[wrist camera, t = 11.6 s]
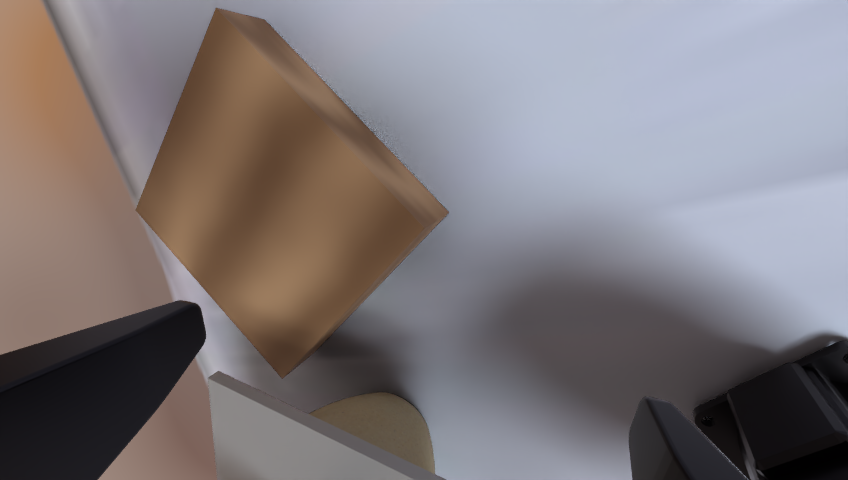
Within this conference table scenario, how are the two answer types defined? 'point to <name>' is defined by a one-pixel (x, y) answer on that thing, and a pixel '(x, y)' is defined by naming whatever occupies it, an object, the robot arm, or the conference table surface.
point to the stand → (279, 193)
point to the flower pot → (383, 425)
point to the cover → (290, 442)
